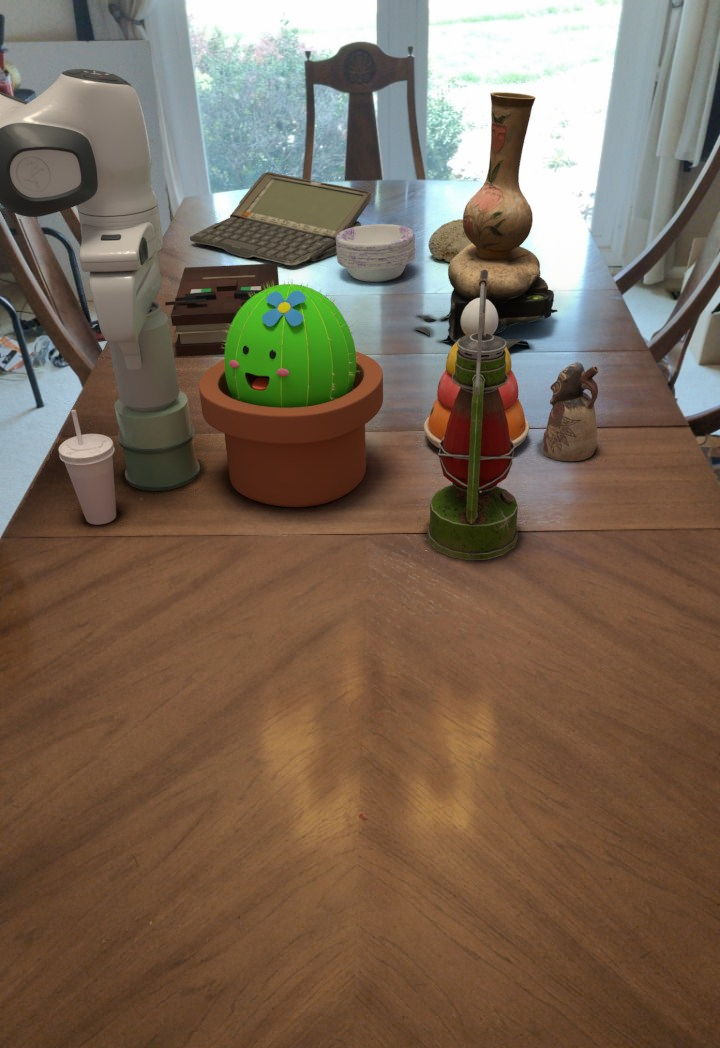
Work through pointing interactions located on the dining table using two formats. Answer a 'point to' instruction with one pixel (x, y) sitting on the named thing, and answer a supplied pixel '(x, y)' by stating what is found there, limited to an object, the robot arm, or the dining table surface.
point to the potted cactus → (292, 399)
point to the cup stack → (158, 445)
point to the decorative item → (448, 240)
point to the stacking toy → (449, 390)
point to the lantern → (476, 454)
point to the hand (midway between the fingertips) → (141, 352)
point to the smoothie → (91, 473)
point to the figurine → (572, 415)
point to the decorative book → (214, 303)
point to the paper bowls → (375, 251)
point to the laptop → (287, 220)
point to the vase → (500, 232)
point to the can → (148, 367)
